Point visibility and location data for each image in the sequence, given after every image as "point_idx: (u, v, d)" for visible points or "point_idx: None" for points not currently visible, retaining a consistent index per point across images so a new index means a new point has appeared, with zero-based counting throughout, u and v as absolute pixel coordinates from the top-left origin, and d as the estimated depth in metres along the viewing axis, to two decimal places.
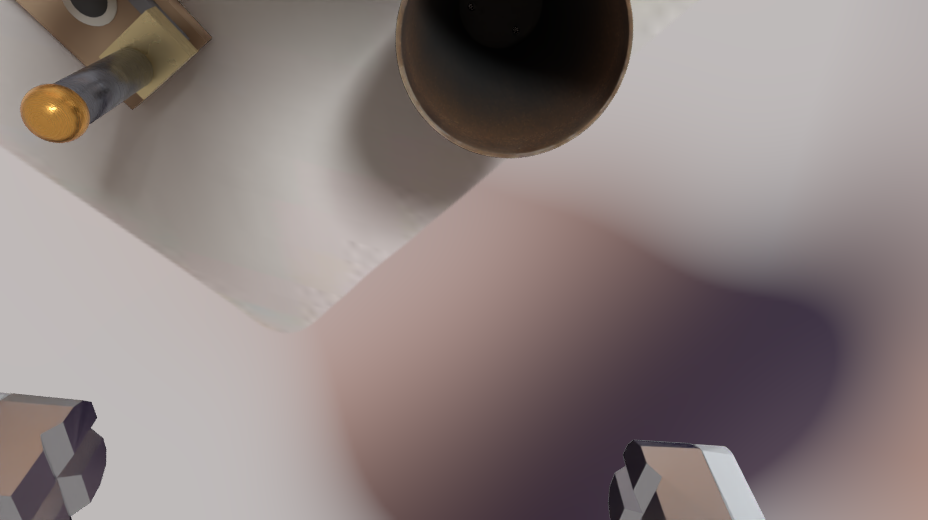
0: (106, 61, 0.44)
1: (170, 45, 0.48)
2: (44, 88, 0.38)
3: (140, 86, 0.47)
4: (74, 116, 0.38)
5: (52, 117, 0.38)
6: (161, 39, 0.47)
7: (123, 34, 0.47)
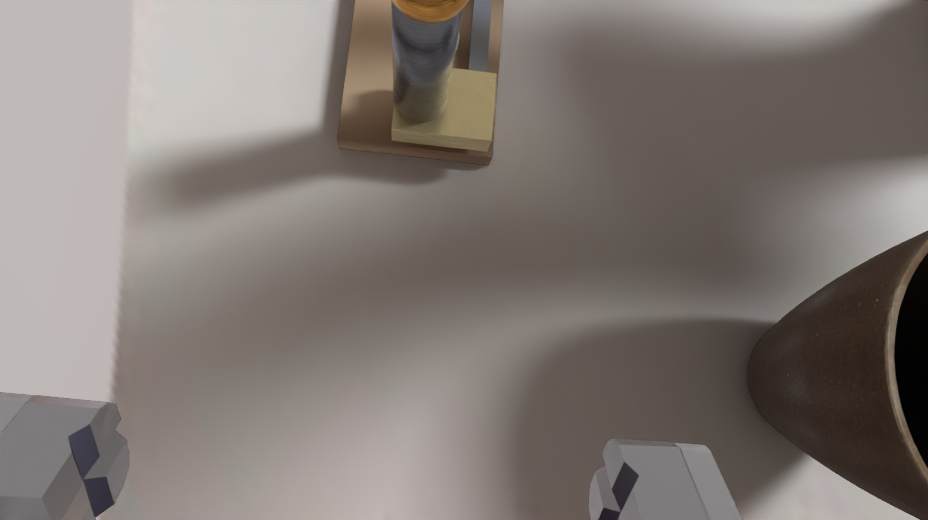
0: None
1: (483, 115, 0.36)
2: None
3: (428, 105, 0.33)
4: None
5: None
6: (481, 104, 0.36)
7: None
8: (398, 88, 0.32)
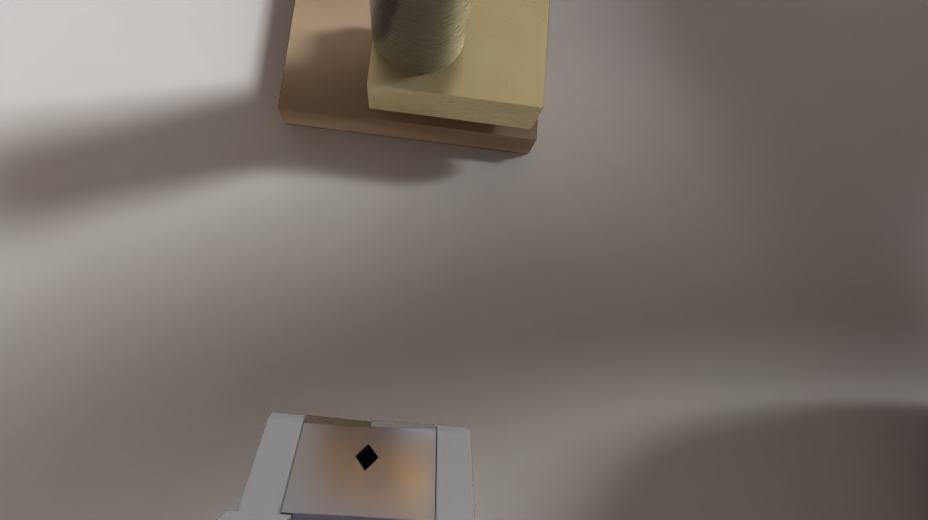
0: None
1: (528, 64, 0.20)
2: None
3: (434, 36, 0.18)
4: None
5: None
6: (524, 44, 0.21)
7: None
8: (377, 0, 0.17)
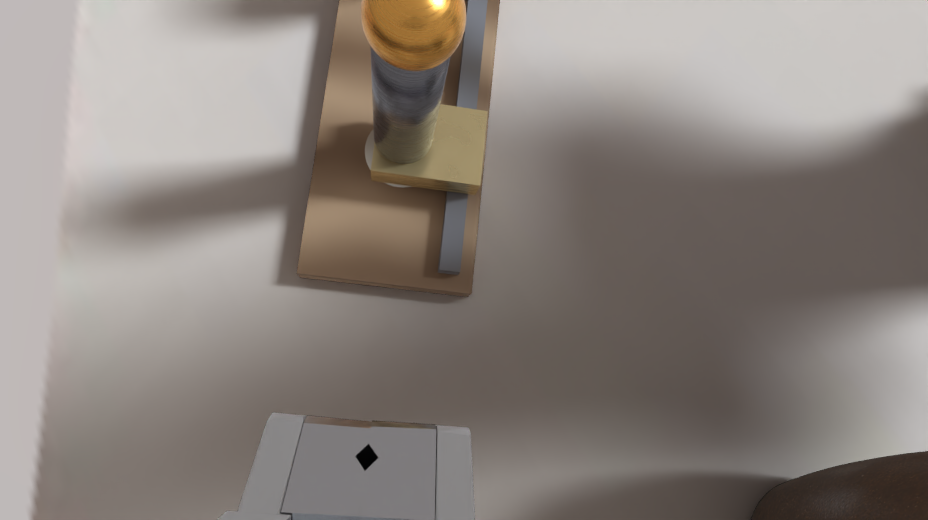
0: None
1: (472, 157, 0.33)
2: None
3: (412, 148, 0.30)
4: (452, 33, 0.21)
5: None
6: (469, 144, 0.33)
7: None
8: (378, 129, 0.29)
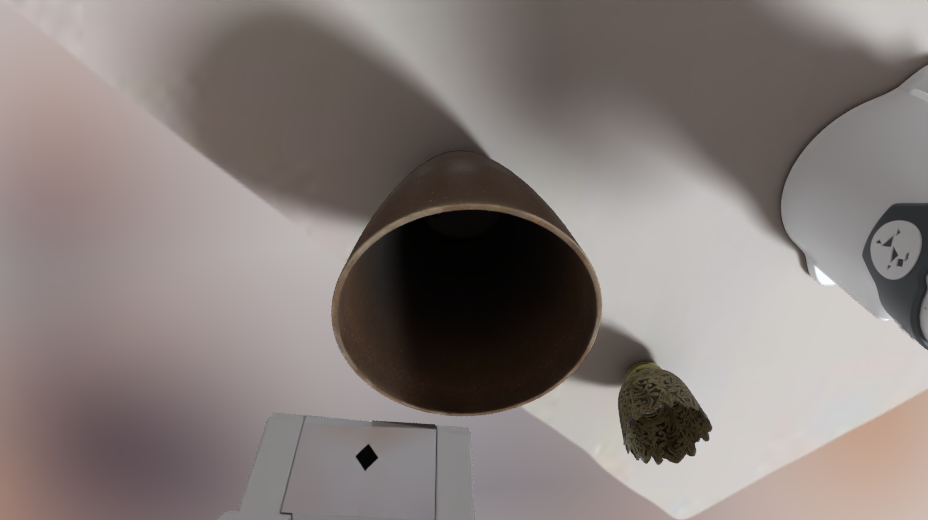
0: None
1: None
2: None
3: None
4: None
5: None
6: None
7: None
8: None
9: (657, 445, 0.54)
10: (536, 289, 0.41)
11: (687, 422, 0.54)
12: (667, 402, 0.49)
